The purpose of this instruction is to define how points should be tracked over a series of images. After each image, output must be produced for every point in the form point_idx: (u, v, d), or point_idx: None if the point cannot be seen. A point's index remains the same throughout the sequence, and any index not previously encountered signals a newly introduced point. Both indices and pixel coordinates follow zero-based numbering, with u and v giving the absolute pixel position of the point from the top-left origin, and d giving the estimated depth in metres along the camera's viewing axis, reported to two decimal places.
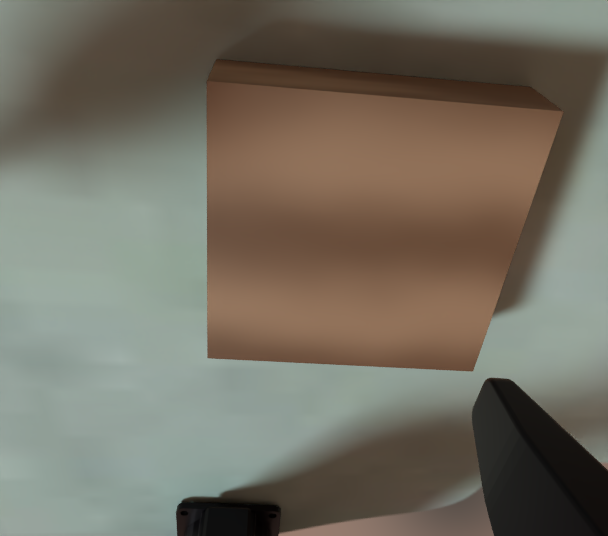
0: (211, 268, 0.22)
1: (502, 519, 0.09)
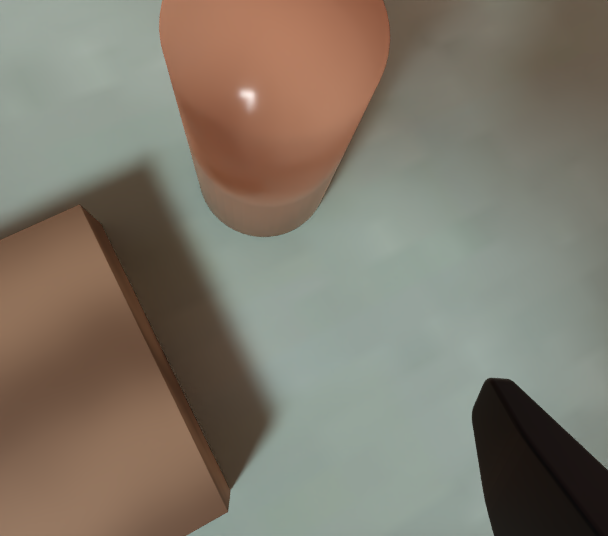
0: None
1: (502, 519, 0.09)
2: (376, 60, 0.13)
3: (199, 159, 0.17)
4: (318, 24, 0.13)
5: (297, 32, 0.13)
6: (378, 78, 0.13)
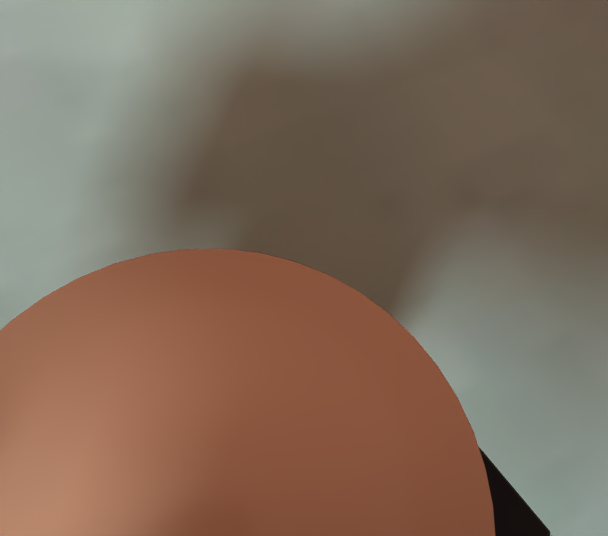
0: None
1: None
2: None
3: None
4: (313, 520, 0.05)
5: None
6: None
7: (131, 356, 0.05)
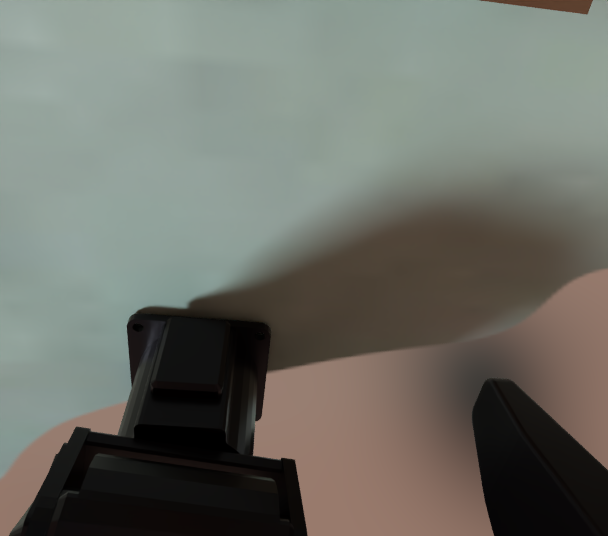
0: None
1: (502, 519, 0.09)
2: None
3: None
4: None
5: None
6: None
7: None
